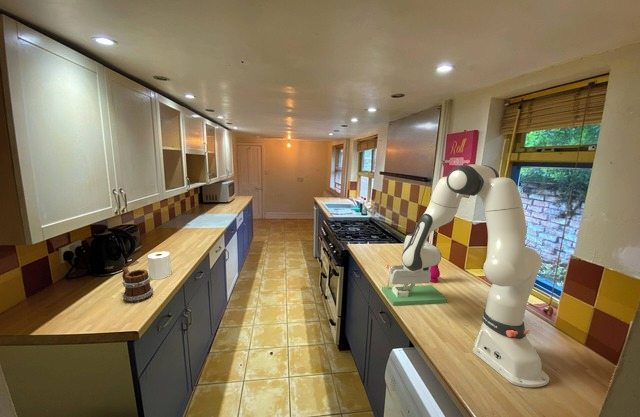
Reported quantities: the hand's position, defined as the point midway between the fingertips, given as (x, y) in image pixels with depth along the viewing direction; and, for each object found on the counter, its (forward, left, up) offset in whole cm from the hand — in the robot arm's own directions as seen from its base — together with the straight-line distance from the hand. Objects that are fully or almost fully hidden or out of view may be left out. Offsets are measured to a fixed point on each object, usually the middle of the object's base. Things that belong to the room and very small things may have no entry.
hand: (408, 291), depth 130 cm
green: (0, -3, -3) cm, 4 cm away
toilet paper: (+33, +129, -3) cm, 133 cm away
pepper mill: (+16, -23, -3) cm, 28 cm away
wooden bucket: (+11, +131, -3) cm, 131 cm away
